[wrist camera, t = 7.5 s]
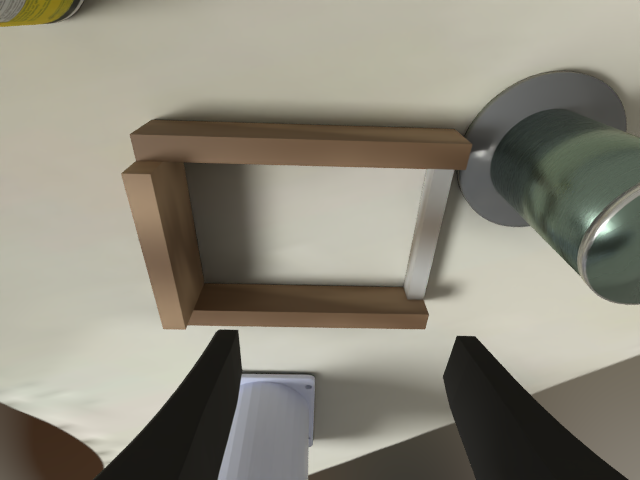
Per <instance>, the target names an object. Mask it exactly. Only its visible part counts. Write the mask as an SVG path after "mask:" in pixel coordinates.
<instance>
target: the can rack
mask: <svg viewBox="0 0 640 480" xmlns="http://www.w3.org/2000/svg"><path fill="white" fill-rule="evenodd" d="M130 138H131V142H132V146H133V150H134V154H135V158H136V162H134V163H133V164H132V165H131V166H130V167H128V168H127V169H126V170H125V171H124V172H122V173H121V175H122V179H123V182H124V186H125V190H126V193H127V197H128V201H129V204H130V208H131V212H132V215H133V219H134V223H135V226H136V230H137V234H138V238H139V241H140V245H141V249H142V252H143V256H144V260H145V263H146V267H147V271H148V274H149V278H150V282H151V285H152V289H153V293H154V296H155V300H156V304H157V308H158V311H159V315H160V319H161V322H162V326H163V329H186V327H187V325H203V326H263V327H323V328H383V329H425V328H426V324H427V320H428V316H429V314H428V311H427V308H426V306H425V303H424V300H423V299H424V295H425V291H426V287H427V283H428V278H429V274H430V270H431V266H432V262H433V257H434V253H435V249H436V245H437V241H438V236H439V232H440V228H441V224H442V220H443V216H444V211H445V207H446V203H447V199H448V195H449V190H450V186H451V182H452V178H453V174H454V170H466V168H467V164H468V160H469V156H470V152H471V148H472V144H471V143H470V142H469V141H468V140H467V139H466V138H464V137H463V136H462V135H461V134H460V133H459V132H457V131H456V130H455V129H441V128H408V127H375V126H341V125H308V124H275V123H241V122H208V121H175V120H151V121H149V122H148V123H146V124H145V125H143V126H142V127H140V128H139V129H137V130H136V131H134V132H133V133H131V134H130ZM184 162H190V163H227V164H264V165H300V166H337V167H374V168H410V169H427V170H426V175H425V180H424V185H423V190H422V195H421V200H420V205H419V210H418V216H417V221H416V226H415V231H414V236H413V241H412V246H411V251H410V256H409V262H408V267H407V272H406V277H405V282H404V287H367V286H316V285H264V284H213V283H204V278H203V272H202V266H201V260H200V255H199V249H198V243H197V237H196V231H195V226H194V220H193V214H192V208H191V202H190V197H189V191H188V185H187V179H186V173H185V168H184Z"/></svg>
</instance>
